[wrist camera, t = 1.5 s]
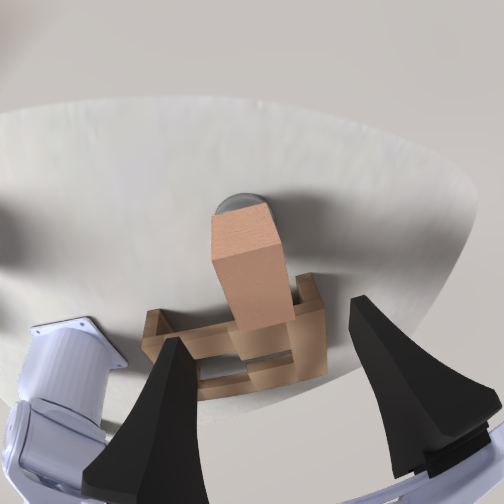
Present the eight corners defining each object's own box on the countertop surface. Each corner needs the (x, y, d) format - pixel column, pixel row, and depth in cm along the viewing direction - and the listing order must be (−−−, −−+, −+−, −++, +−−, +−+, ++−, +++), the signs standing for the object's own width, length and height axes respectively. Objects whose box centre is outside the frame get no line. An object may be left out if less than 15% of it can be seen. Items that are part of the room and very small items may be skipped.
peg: (225, 256, 21) (231, 334, 15) (204, 195, 18) (200, 263, 12) (278, 243, 21) (304, 317, 15) (265, 179, 18) (293, 240, 12)
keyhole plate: (189, 370, 29) (189, 402, 25) (147, 311, 23) (140, 348, 20) (316, 342, 28) (327, 374, 25) (309, 272, 22) (325, 308, 19)
